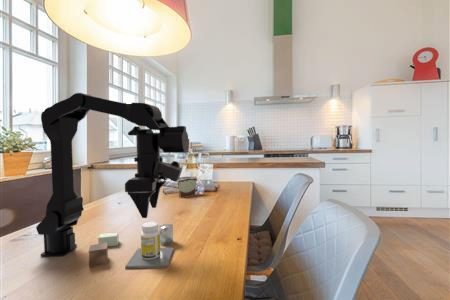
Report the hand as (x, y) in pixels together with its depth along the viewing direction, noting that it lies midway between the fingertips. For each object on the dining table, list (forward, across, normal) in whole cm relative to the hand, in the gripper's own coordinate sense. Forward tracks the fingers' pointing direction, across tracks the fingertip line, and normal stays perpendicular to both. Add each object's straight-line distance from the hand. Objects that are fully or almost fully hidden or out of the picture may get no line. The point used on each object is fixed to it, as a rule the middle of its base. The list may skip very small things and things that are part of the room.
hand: (149, 212), depth 67 cm
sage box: (+12, +9, +15) cm, 21 cm away
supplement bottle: (+12, -1, 0) cm, 12 cm away
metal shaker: (+12, +9, -2) cm, 15 cm away
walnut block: (+12, -2, +13) cm, 18 cm away
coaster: (+12, -1, 0) cm, 12 cm away
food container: (+12, +73, 0) cm, 74 cm away
